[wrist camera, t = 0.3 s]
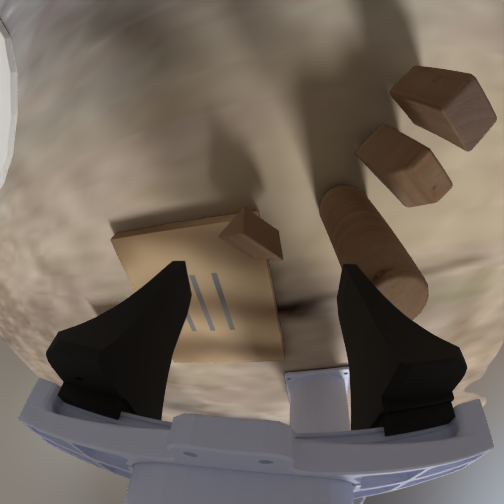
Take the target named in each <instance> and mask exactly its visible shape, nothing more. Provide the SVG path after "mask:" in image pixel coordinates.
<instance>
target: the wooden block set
mask: <svg viewBox="0 0 504 504" xmlns="http://www.w3.org/2000/svg"><path fill="white" fill-rule="evenodd" d="M390 94H391V96H392V98H393V99H394V100H395V101H396V102H397V103H398V105H399V106H400V107H401V108H402V109H403V111H404V112H405V113H406V114H407V116H408V117H409V118H410V119H411V121H412V122H413V123H414V124H415V125H417V126H419V127H422V128H424V129H426V130H428V131H430V132H432V133H434V134H436V135H438V136H440V137H442V138H444V139H445V140H447V141H449V142H451V143H453V144H455V145H456V146H458V147H460V148H462V149H464V150H465V151H471V150H472V149H473V148H474V147H475V145H476V144H477V143H478V142H479V141H480V140H481V139H482V137H483V136H484V135H485V134H486V133H487V132H488V131H489V129H490V128H491V127H492V126H493V125H494V123H495V122H496V120H497V117H496V114H495V112H494V110H493V108H492V106H491V104H490V102H489V100H488V99H487V97H486V95H485V93H484V91H483V89H482V88H481V86H480V84H479V82H478V81H477V79H476V78H475V77H474V76H473V75H472V74H468V73H463V72H458V71H452V70H446V69H439V68H431V67H423V66H414V67H413V68H412V69H411V70H410V71H409V72H408V73H407V74H406V75H405V76H404V77H403V78H402V79H401V80H400V81H399V82H398V83H397V84H396V85H395V86H394V87H393V88H392V89H391V91H390ZM355 154H356V156H357V157H358V158H359V159H360V160H361V161H362V162H363V163H364V164H365V165H366V166H367V167H368V168H369V169H370V170H371V171H372V172H373V173H374V174H375V175H376V176H377V178H378V179H379V180H380V181H381V182H382V183H383V184H384V185H385V186H386V187H387V188H388V189H389V190H390V191H391V192H392V193H393V194H394V195H395V196H396V197H397V198H398V199H399V200H400V202H401V203H402V204H403V205H404V206H406V207H414V206H420V205H426V204H431V203H436V202H438V201H439V200H440V199H441V198H442V197H443V196H444V195H445V194H446V193H447V192H448V191H449V190H450V189H451V188H452V186H453V185H452V182H451V180H450V178H449V177H448V175H447V174H446V172H445V170H444V169H443V167H442V166H441V164H440V163H439V161H438V160H437V158H436V157H435V155H434V154H433V152H432V151H431V150H430V149H429V148H428V147H426V146H424V145H423V144H421V143H419V142H417V141H416V140H414V139H412V138H410V137H409V136H407V135H405V134H403V133H401V132H399V131H398V130H396V129H394V128H392V127H390V126H388V125H386V124H384V123H382V124H381V125H380V126H379V127H378V128H377V129H376V130H375V131H374V132H373V133H372V134H371V135H370V136H369V137H368V138H367V139H366V140H365V141H364V142H363V143H362V144H361V145H360V146H359V147H358V148H357V149H356V151H355ZM319 213H320V217H321V219H322V221H323V224H324V226H325V228H326V231H327V233H328V236H329V238H330V240H331V243H332V245H333V248H334V250H335V253H336V255H337V258H338V260H339V263H340V265H341V268H342V267H343V264H356V265H357V266H358V267H359V268H360V269H361V271H362V272H363V273H364V274H365V275H366V276H367V278H368V279H369V280H370V281H371V282H372V283H373V284H374V286H375V287H376V288H377V289H378V290H379V291H380V292H381V293H382V294H383V295H384V296H385V297H386V298H387V299H388V300H389V301H390V302H391V303H392V304H393V305H394V306H395V307H396V308H397V309H399V310H400V311H401V312H402V313H403V314H405V315H406V316H407V317H408V318H410V319H411V320H413V319H414V318H415V317H417V316H418V315H419V314H420V313H421V311H422V310H423V308H424V307H425V305H426V303H427V300H428V284H427V282H426V280H425V278H424V277H423V275H422V274H421V272H420V270H419V269H418V267H417V266H416V264H415V263H414V261H413V260H412V258H411V257H410V255H409V254H408V252H407V251H406V249H405V248H404V246H403V245H402V244H401V242H400V241H399V239H398V238H397V236H396V235H395V234H394V232H393V231H392V229H391V228H390V227H389V225H388V224H387V223H386V221H385V220H384V219H383V217H382V216H381V215H380V213H379V212H378V211H377V209H376V208H375V207H374V205H373V204H372V203H371V202H370V200H369V199H368V198H367V196H366V195H365V194H364V193H363V192H362V191H361V190H359V189H358V188H356V187H353V186H350V185H339V186H336V187H333V188H331V189H330V190H329V191H327V192H326V193H325V195H324V196H323V197H322V199H321V202H320V206H319ZM218 237H219V238H220V239H222V240H224V241H225V242H227V243H228V244H230V245H231V246H233V247H235V248H236V249H238V250H239V251H241V252H242V253H244V254H246V255H247V256H249V257H250V258H257V259H270V260H283V255H282V249H281V243H280V237H279V231H278V230H277V229H275V228H274V227H272V226H271V225H270V224H268V223H267V222H265V221H264V220H263V219H261V218H260V217H258V216H257V215H255V214H254V213H253V212H251V211H250V210H248V209H247V208H245V207H243V208H242V209H241V210H240V211H239V213H238V214H237V215H236V216H235V217H234V218H233V219H232V221H231V222H230V223H229V224H228V225H227V226H226V228H225V229H224V230H223V231H222V232H221V233H220V235H219V236H218Z"/></svg>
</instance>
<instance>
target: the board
mask: <svg viewBox="0 0 504 504" xmlns="http://www.w3.org/2000/svg"><path fill="white" fill-rule="evenodd" d="M252 212H253V213H254V214H255V215H257V216H258V217H260V215H259V211H252ZM237 214H238V213H237ZM237 214H230V215H223V216H216V217H209V218H203V219H196V220H190V221H183V222H177V223H171V224H165V225H159V226H153V227H147V228H141V229H135V230H130V231H124V232H119V233H116V234H115V235H114V236H113V237H112V238H111V242H112V245H113V247H114V249H115V251H116V253H117V256H118V258H119V260H120V262H121V264H122V266H123V269H124V271H125V273H126V275H127V277H128V279H129V281H130V283H131V285H132V287H133V289H134V291H135V292H136V291H138V290H139V289H140V288H141V287H143V286H144V285H145V284H146V283H148V282H149V281H150V280H151V279H152V278H153V277H155V276H156V275H157V274H158V273H159V272H160V271H161V270H163V269H164V268H165V267H166V266H167V265H168V264H169V263H171V262H172V261H185V262H186V268H187V273H188V278H189V283H190V288H191V293H192V297H191V302H190V306H189V310H188V314H187V317H186V320H185V322H184V325H183V328H182V330H181V333H180V336H179V338H178V341H177V344H176V347H175V349H174V353H173V356H172V359H173V361H174V362H180V363H236V362H262V361H280V360H285V350H284V344H283V338H282V333H281V327H280V322H279V316H278V310H277V305H276V300H275V294H274V289H273V283H272V278H271V273H270V267H269V262H268V259H257V258H250V257H249V256H247V255H246V254H244V253H242V252H241V251H239V250H238V249H236V248H235V247H233V246H231V245H230V244H228V243H227V242H225V241H224V240H222V239H220V238H219V237H218V236H219V235H220V233H221V232H222V231H223V230H224V229H225V228H226V226H227V225H228V224H229V223H230V222H231V221H232V219H233V218H234V217H235V216H236V215H237Z"/></svg>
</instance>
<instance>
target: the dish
mask: <svg viewBox="0 0 504 504" xmlns="http://www.w3.org/2000/svg"><path fill="white" fill-rule="evenodd" d="M17 116H18V106H17V68H16V63H15V58H14V53H13V47H12V41H11V37H10V35H9V34H8V32H7V30H6V28H5V27H4V25H3V23H2V22H1V20H0V188H1V187H2V186H3V184H4V182H5V178H6V175H7V171H8V168H9V165H10V162H11V159H12V156H13V150H14V139H15V131H16V123H17Z"/></svg>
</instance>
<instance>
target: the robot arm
mask: <svg viewBox="0 0 504 504" xmlns="http://www.w3.org/2000/svg"><path fill="white" fill-rule="evenodd" d="M191 297H192V293H191V288H190V283H189V278H188V273H187V268H186V262H185V261H172V262H171V263H169V264H168V265H167V266H166V267H165V268H164V269H163V270H161V271H160V272H159V273H158V274H157V275H156V276H155V277H153V278H152V279H151V280H150V281H149V282H148V283H146V284H145V285H144V286H143V287H141V288H140V289H139V290H138V291H136V292H135V293H134V294H133V295H131V296H130V297H129V298H127V299H126V300H124V301H123V302H121V303H120V304H118V305H117V306H115V307H114V308H112V309H110V310H108V311H106V312H105V313H103V314H101V315H99V316H97V317H95V318H93V319H91V320H89V321H87V322H84V323H82V324H80V325H77V326H74V327H71V328H68V329H66V330H63V331H59V332H58V334H57V335H56V337H55V338H54V340H53V342H52V343H51V345H50V347H49V348H48V350H47V351H46V356H47V359H48V362H49V363H50V365H51V366H52V368H53V369H54V370H55V372H56V373H57V374H58V375H59V377H60V378H61V379H62V380H63V382H64V383H63V385H62V387H60V386H59V385H57V384H55V383H53V382H50V381H48V380H45V379H42V378H38V380H37V382H36V384H35V386H34V388H33V390H32V391H31V394H30V395H29V397H28V399H27V401H26V404H25V405H24V407H23V409H22V411H21V413H20V415H19V417H18V418H19V420H20V421H21V422H22V423H23V424H25V425H26V426H27V427H28V428H29V429H30V430H32V431H33V432H34V433H35V434H37V435H38V436H39V437H40V438H42V439H43V440H44V441H45V442H47V443H48V444H50V445H52V446H54V447H57V448H58V449H60V450H63V451H65V452H67V453H69V454H71V455H73V456H75V457H77V458H79V459H81V460H84V461H86V462H88V463H90V464H93V465H95V466H97V467H100V468H102V469H105V470H107V471H110V472H112V473H115V474H118V475H120V476H123V477H126V478H128V479H130V482H129V486H128V490H127V493H126V497H125V501H124V504H363V501H364V499H365V498H366V496H372V495H377V494H381V493H386V492H390V491H394V490H398V489H401V488H405V487H409V486H412V485H416V484H419V483H422V482H426V481H428V480H432V479H435V478H438V477H441V476H444V475H447V474H450V473H453V472H456V471H458V470H461V469H463V468H465V467H466V466H468V465H469V464H471V463H472V462H474V461H476V460H477V459H479V458H480V457H481V456H483V455H484V454H486V453H487V452H489V451H490V450H491V449H493V447H494V445H493V442H492V437H491V434H490V430H489V427H488V424H487V420H486V417H485V414H484V411H483V408H482V405H481V402H480V399H476V400H473V401H469V402H465V403H462V404H459V405H457V406H455V407H454V408H453V406H452V403H451V401H453V400H454V396H453V392H452V391H453V390H454V388H455V387H456V386H457V385H458V383H459V382H460V381H461V380H462V378H463V377H464V375H465V373H466V370H467V365H466V362H465V359H464V357H463V355H462V352H461V350H460V348H459V347H457V346H455V345H453V344H451V343H449V342H447V341H445V340H443V339H441V338H439V337H437V336H435V335H434V334H432V333H430V332H428V331H427V330H425V329H424V328H422V327H421V326H419V325H418V324H416V323H415V322H414V321H412V320H411V319H410V318H408V317H407V316H406V315H405V314H403V313H402V312H401V311H400V310H399V309H397V308H396V307H395V306H394V305H393V304H392V303H391V302H390V301H389V300H388V299H387V298H386V297H385V296H384V295H383V294H382V293H381V292H380V291H379V290H378V289H377V288H376V287H375V286H374V284H373V283H372V282H371V281H370V280H369V279H368V278H367V276H366V275H365V274H364V273H363V272H362V271H361V269H360V268H359V267H358V266H357V265H356V264H343V267H342V273H341V279H340V284H339V290H338V295H337V305H338V315H339V321H340V325H341V329H342V334H343V338H344V343H345V347H346V352H347V357H348V363H349V367H339V368H330V369H321V370H311V371H299V372H287V373H285V382H286V387H287V392H288V397H289V402H290V426H289V425H287V424H284V423H282V422H279V421H271V420H260V419H243V418H230V417H220V416H210V415H202V414H185V413H184V414H181V415H179V416H176V417H174V418H173V422H167V421H162V420H161V418H162V409H163V402H164V395H165V389H166V383H167V378H168V373H169V369H170V364H171V360H172V356H173V353H174V349H175V347H176V344H177V341H178V338H179V336H180V333H181V330H182V328H183V325H184V322H185V320H186V317H187V314H188V310H189V306H190V302H191ZM349 376H350V390H351V431H350V422H349V412H348V403H347V391H348V384H349Z"/></svg>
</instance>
